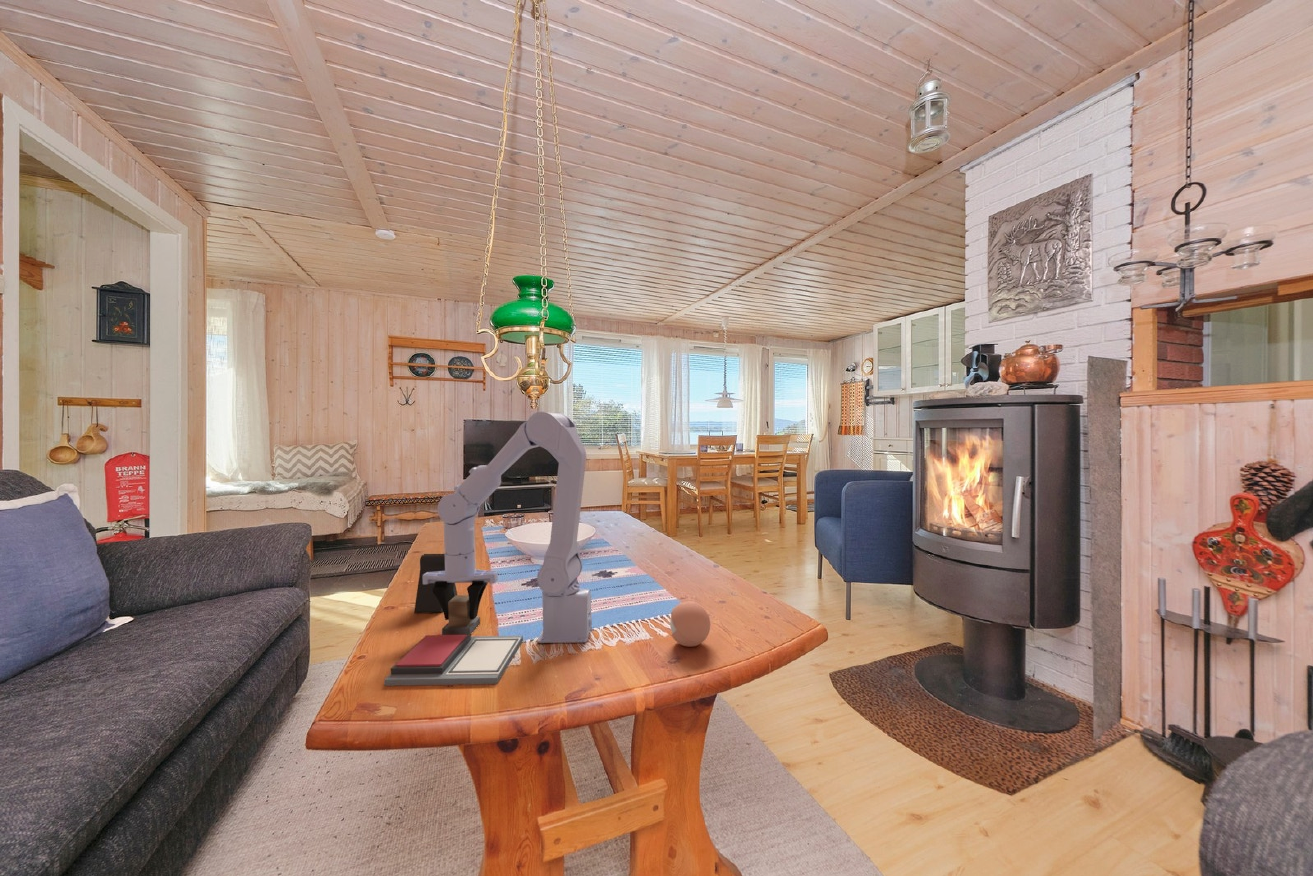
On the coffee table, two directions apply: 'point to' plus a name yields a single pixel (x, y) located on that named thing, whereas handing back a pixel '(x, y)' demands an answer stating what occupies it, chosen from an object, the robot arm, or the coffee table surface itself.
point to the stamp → (460, 617)
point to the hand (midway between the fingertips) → (461, 617)
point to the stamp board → (455, 660)
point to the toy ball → (689, 624)
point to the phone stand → (425, 596)
